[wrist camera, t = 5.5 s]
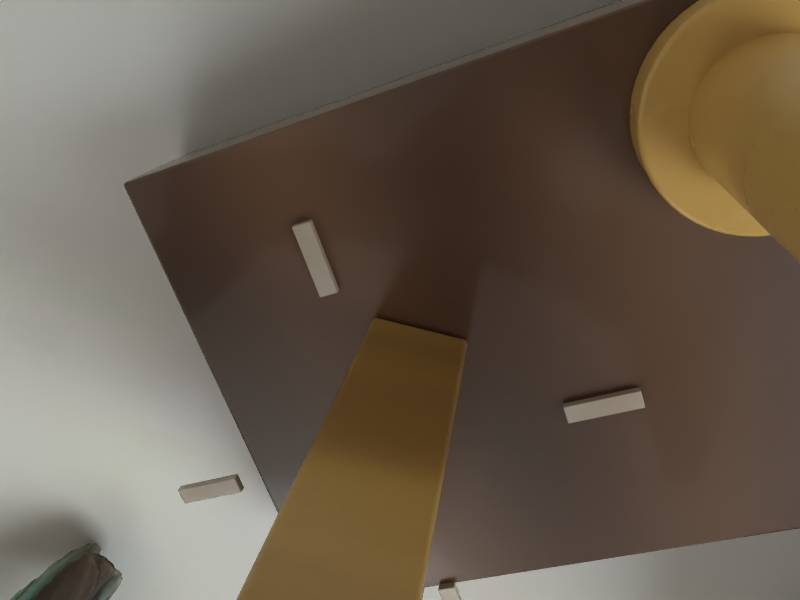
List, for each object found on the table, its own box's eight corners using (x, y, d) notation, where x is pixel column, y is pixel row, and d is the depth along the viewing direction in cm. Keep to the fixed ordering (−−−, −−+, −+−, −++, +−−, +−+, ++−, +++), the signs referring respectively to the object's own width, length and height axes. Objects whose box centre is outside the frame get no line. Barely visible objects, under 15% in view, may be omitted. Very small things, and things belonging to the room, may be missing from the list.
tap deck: (783, -58, 13) (843, -69, 10) (871, 487, 16) (932, 575, 14) (108, 181, 16) (35, 214, 14) (300, 583, 20) (268, 665, 17)
